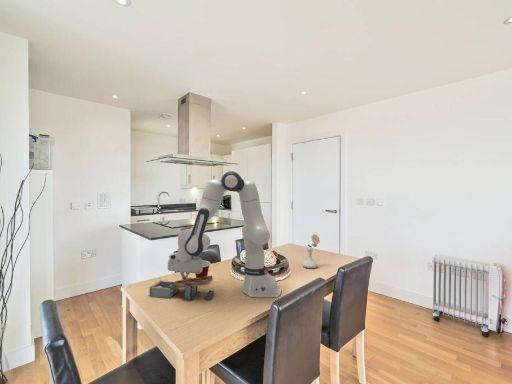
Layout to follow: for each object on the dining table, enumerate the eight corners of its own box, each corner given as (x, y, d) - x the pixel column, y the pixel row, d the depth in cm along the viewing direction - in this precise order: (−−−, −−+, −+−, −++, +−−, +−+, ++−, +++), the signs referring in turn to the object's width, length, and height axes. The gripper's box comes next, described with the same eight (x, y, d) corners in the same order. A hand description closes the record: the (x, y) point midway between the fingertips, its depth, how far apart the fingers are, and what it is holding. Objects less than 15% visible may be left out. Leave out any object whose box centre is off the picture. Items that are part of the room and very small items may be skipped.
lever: (217, 275, 147) (216, 270, 147) (207, 284, 133) (206, 279, 133) (182, 280, 151) (181, 276, 151) (170, 289, 137) (169, 285, 137)
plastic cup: (197, 286, 152) (197, 266, 152) (190, 281, 161) (190, 262, 161) (213, 282, 159) (213, 263, 158) (205, 277, 167) (205, 259, 167)
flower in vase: (306, 270, 185) (306, 235, 184) (299, 265, 196) (300, 232, 195) (322, 268, 188) (323, 235, 187) (315, 264, 199) (315, 232, 199)
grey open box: (178, 290, 145) (179, 282, 145) (169, 298, 136) (169, 289, 135) (159, 289, 148) (159, 280, 148) (149, 296, 138) (149, 287, 138)
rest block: (213, 296, 139) (213, 290, 139) (210, 300, 134) (210, 294, 134) (209, 296, 139) (209, 290, 139) (206, 300, 134) (206, 294, 134)
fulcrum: (200, 292, 143) (200, 279, 143) (192, 301, 133) (192, 287, 132) (190, 291, 145) (190, 278, 144) (181, 300, 134) (181, 286, 134)
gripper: (204, 255, 147) (204, 279, 148) (172, 252, 151) (171, 275, 152) (200, 258, 141) (199, 283, 142) (166, 255, 145) (165, 279, 145)
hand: (184, 279), depth 147 cm, fingers closed
